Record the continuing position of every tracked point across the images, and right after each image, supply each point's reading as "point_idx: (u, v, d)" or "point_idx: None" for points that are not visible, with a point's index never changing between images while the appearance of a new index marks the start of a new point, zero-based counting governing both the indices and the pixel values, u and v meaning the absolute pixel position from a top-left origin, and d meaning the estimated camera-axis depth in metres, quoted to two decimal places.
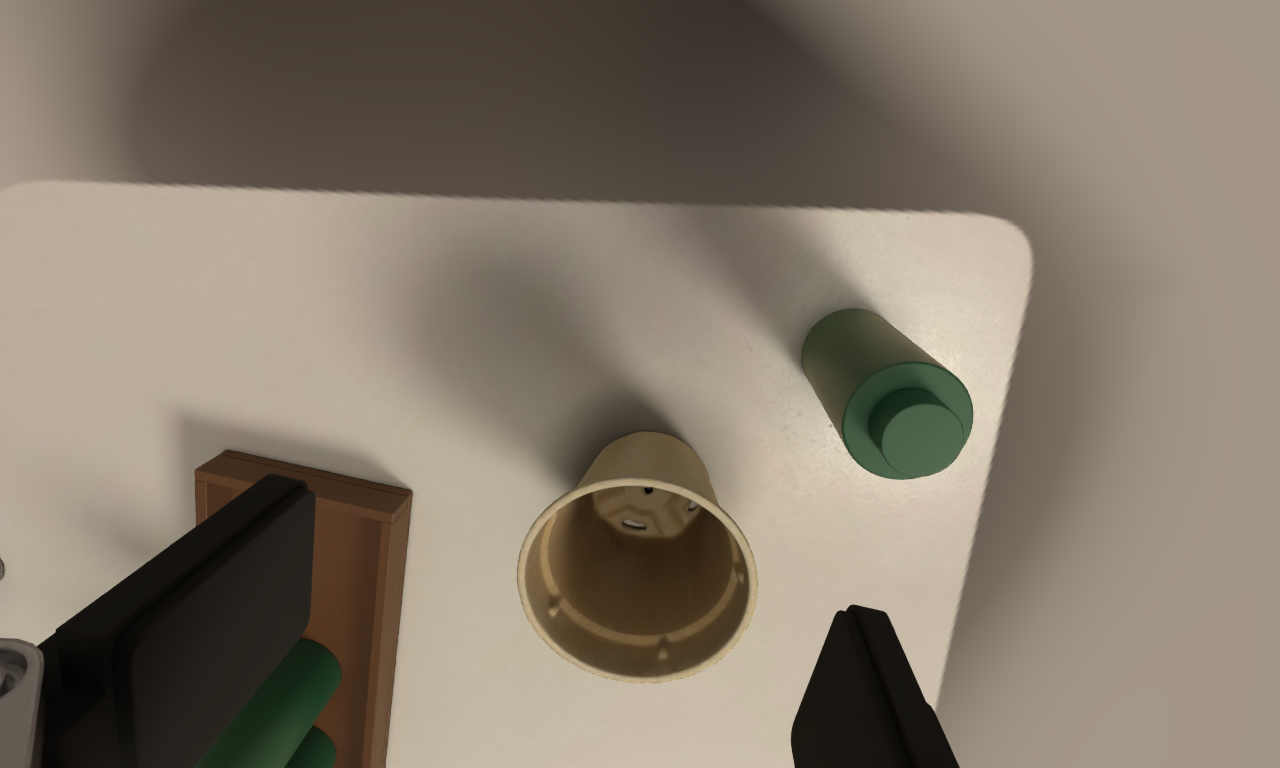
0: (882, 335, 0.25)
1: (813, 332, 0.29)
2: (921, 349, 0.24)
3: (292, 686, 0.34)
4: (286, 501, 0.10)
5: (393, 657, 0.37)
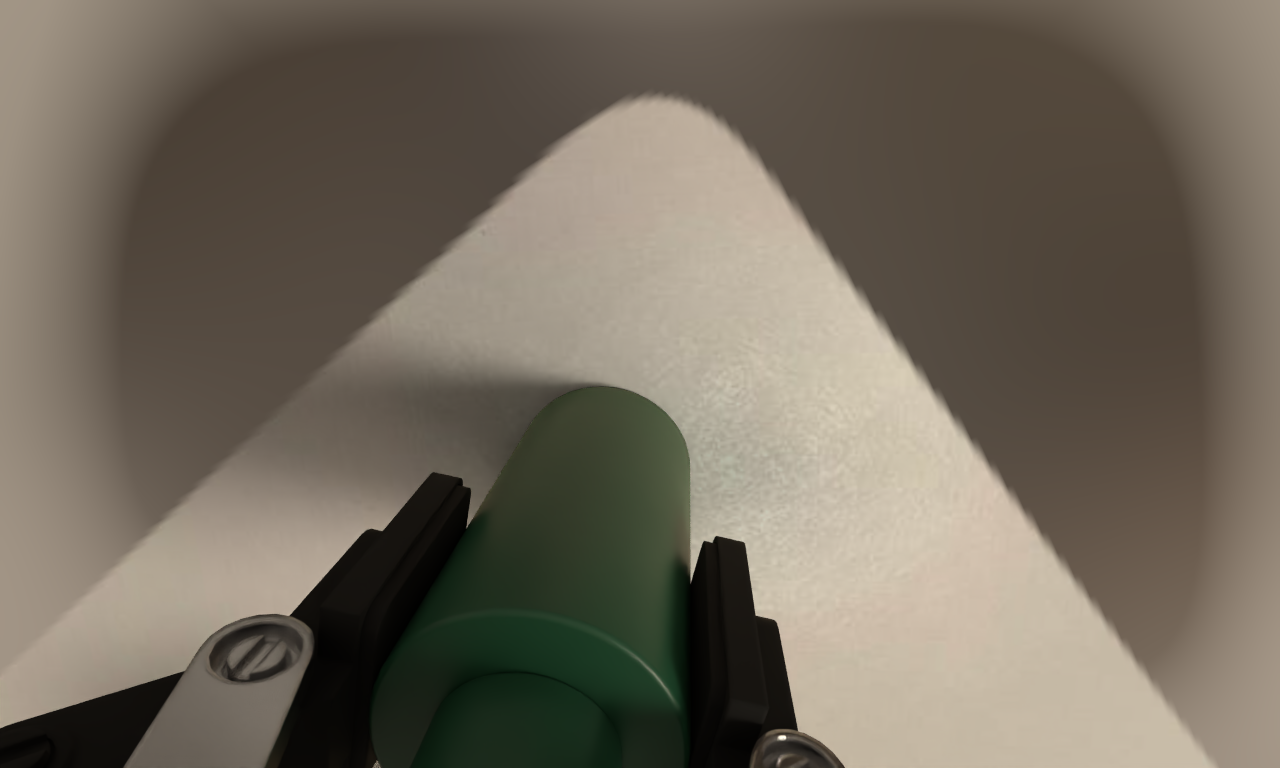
0: (483, 507, 0.11)
1: None
2: (530, 504, 0.10)
3: None
4: (454, 497, 0.11)
5: None
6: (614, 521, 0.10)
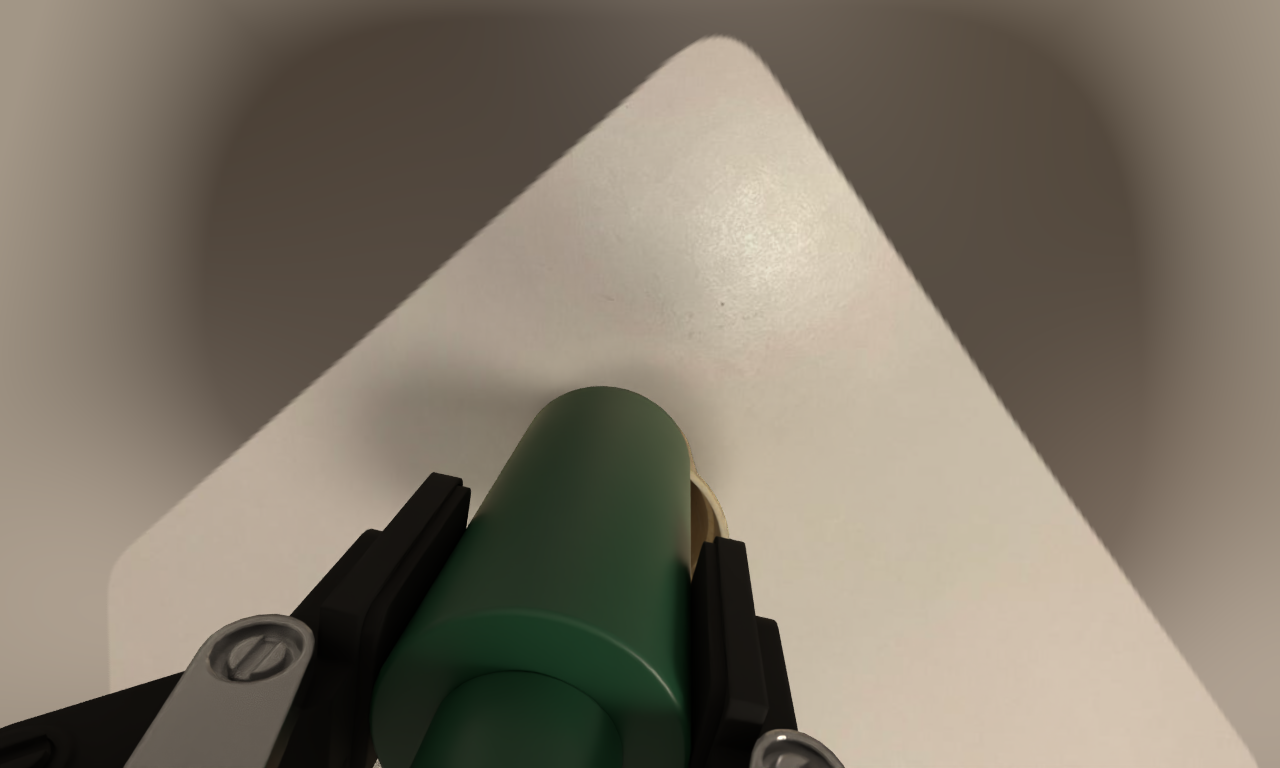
0: (483, 506, 0.11)
1: None
2: (531, 503, 0.10)
3: None
4: (454, 497, 0.11)
5: None
6: (615, 520, 0.10)
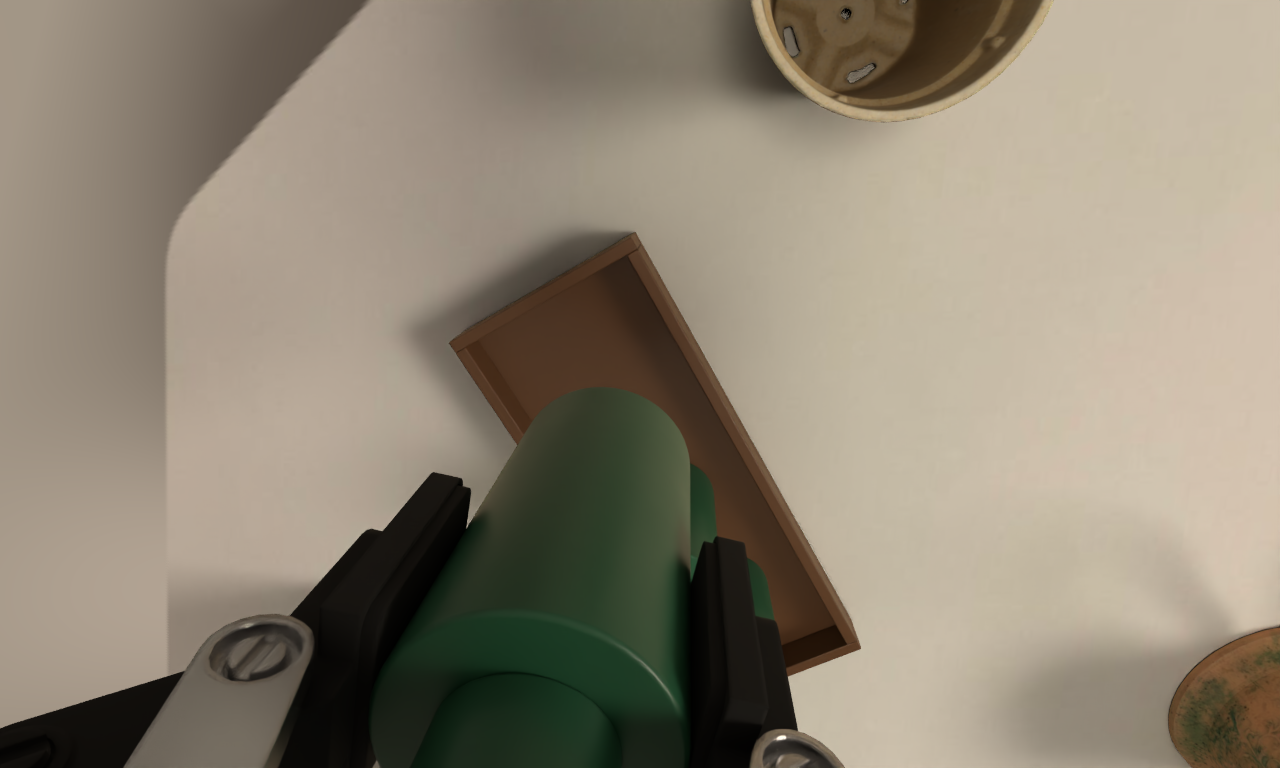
0: (483, 507, 0.11)
1: None
2: (530, 504, 0.10)
3: None
4: (454, 497, 0.11)
5: (740, 422, 0.33)
6: (614, 521, 0.10)
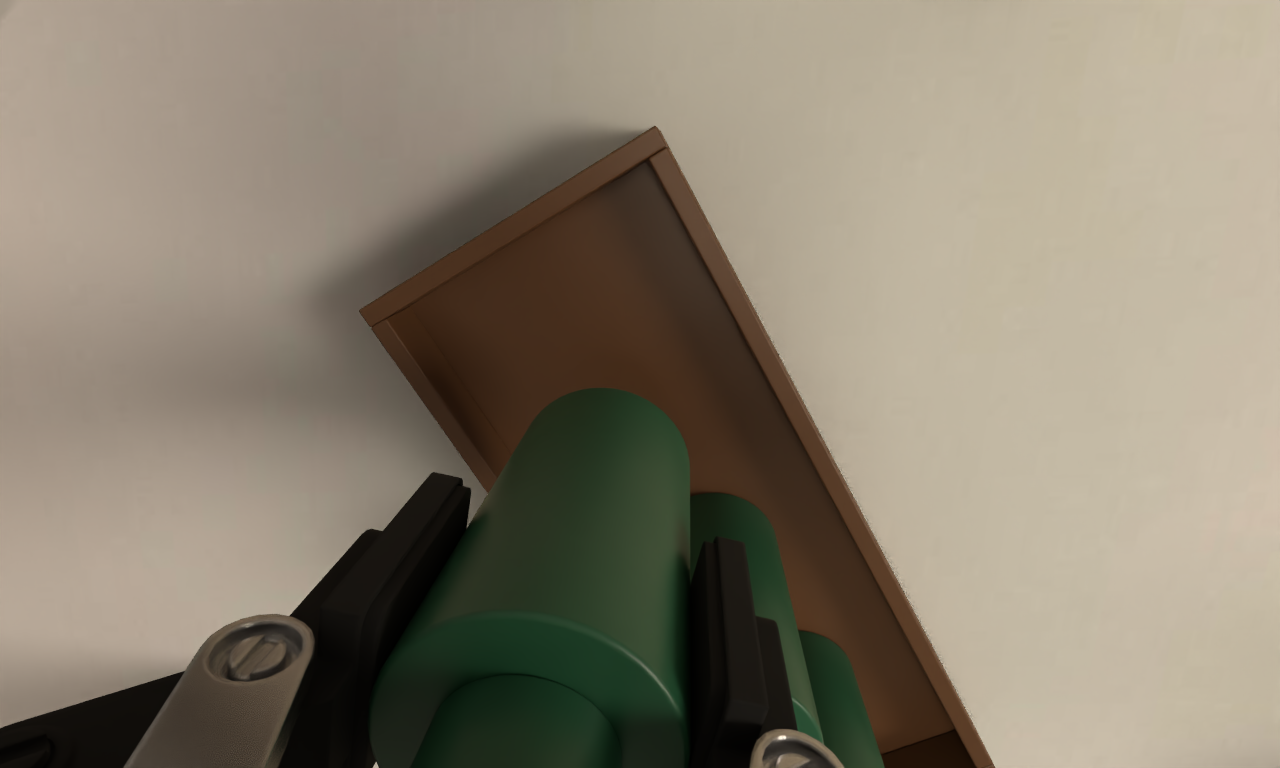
0: (482, 508, 0.11)
1: None
2: (530, 505, 0.10)
3: None
4: (454, 497, 0.11)
5: (820, 435, 0.21)
6: (614, 522, 0.10)
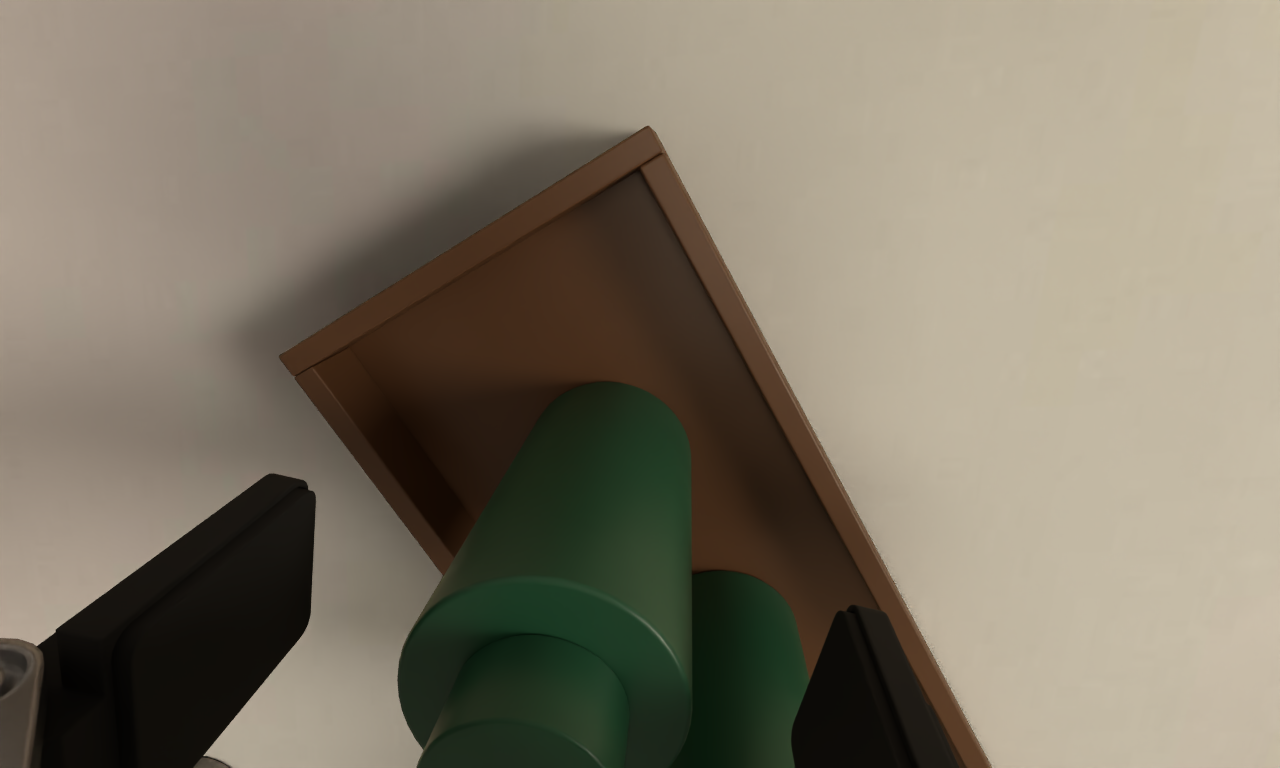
0: (498, 491, 0.12)
1: None
2: (543, 487, 0.11)
3: (724, 645, 0.15)
4: (286, 501, 0.10)
5: (852, 504, 0.17)
6: (622, 502, 0.11)
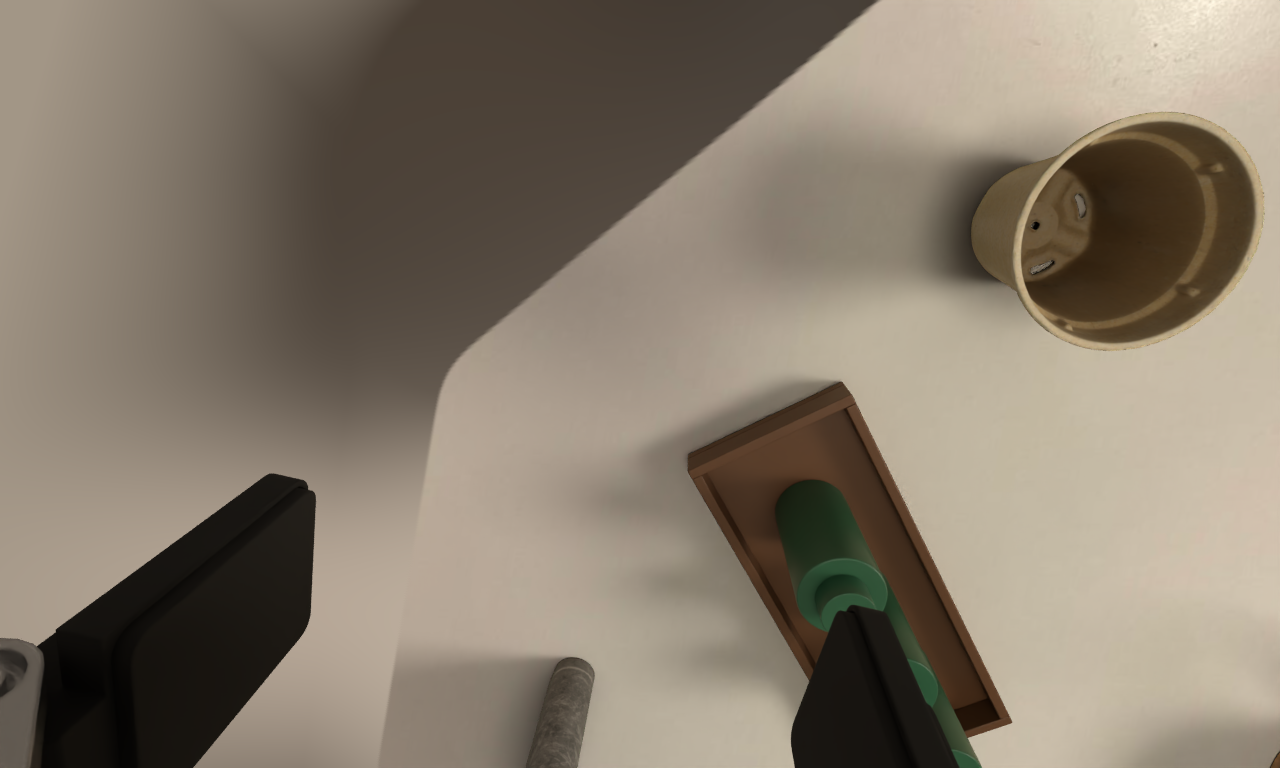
0: (800, 529, 0.34)
1: (776, 519, 0.39)
2: (826, 529, 0.33)
3: None
4: (286, 501, 0.10)
5: None
6: (853, 535, 0.33)
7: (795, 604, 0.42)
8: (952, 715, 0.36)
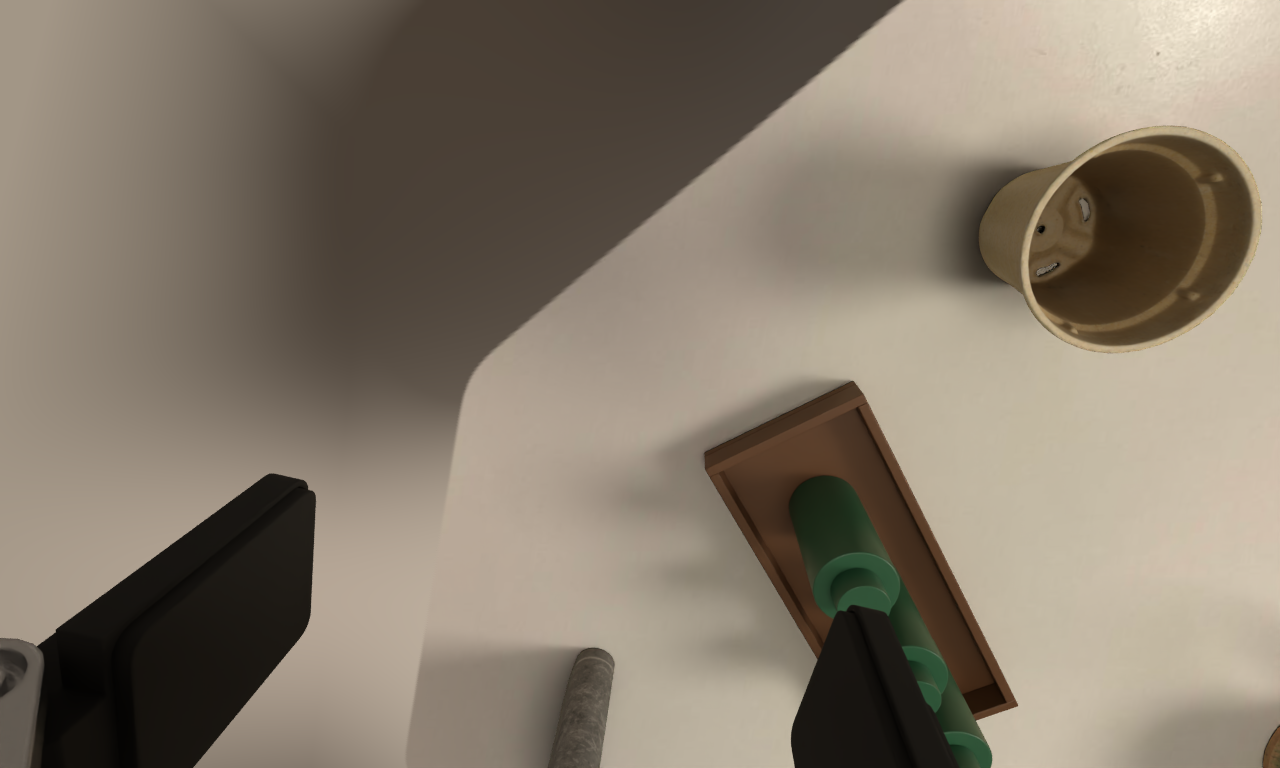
0: (815, 524, 0.36)
1: (790, 514, 0.41)
2: (840, 524, 0.35)
3: None
4: (286, 501, 0.10)
5: None
6: (866, 529, 0.34)
7: (808, 595, 0.43)
8: (961, 699, 0.38)
